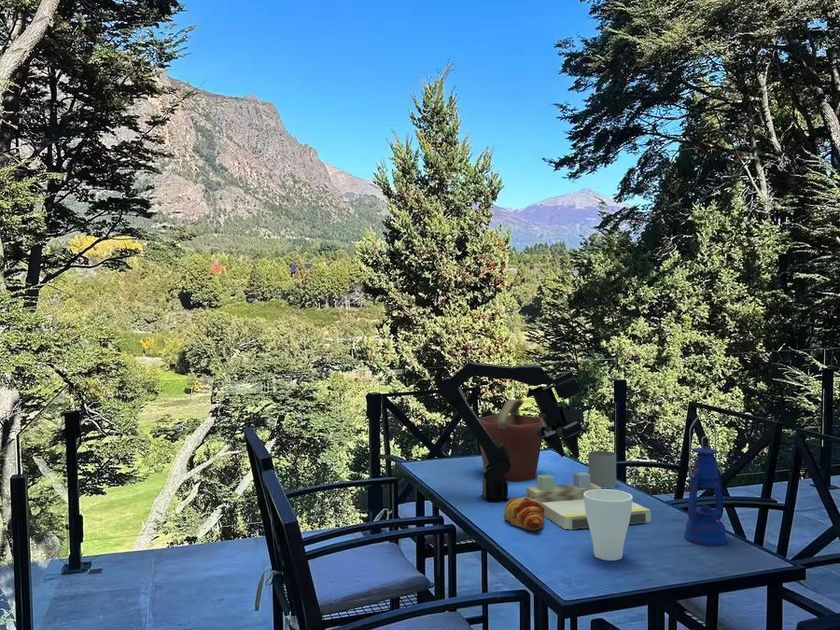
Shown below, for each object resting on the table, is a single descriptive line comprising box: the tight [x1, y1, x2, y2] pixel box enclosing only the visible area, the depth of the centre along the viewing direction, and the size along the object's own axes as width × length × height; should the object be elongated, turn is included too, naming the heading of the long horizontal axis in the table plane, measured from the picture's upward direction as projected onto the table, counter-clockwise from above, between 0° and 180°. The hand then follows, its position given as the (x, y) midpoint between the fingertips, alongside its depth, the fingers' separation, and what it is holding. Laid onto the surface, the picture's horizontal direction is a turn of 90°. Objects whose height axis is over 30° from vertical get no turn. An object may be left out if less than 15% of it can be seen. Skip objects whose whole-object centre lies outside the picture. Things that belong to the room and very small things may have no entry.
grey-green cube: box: [536, 473, 555, 491], centre depth 189 cm, size 4×4×4 cm
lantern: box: [683, 411, 729, 547], centre depth 160 cm, size 11×9×30 cm
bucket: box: [478, 399, 544, 483], centre depth 224 cm, size 24×22×25 cm
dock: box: [541, 499, 652, 530], centre depth 177 cm, size 24×15×3 cm, turn 104°
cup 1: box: [588, 450, 617, 488], centre depth 211 cm, size 8×8×10 cm
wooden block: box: [525, 483, 601, 504], centre depth 190 cm, size 20×6×5 cm, turn 104°
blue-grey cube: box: [572, 471, 590, 488], centre depth 192 cm, size 4×4×4 cm
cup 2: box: [584, 488, 634, 562], centre depth 149 cm, size 10×10×14 cm
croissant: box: [503, 497, 545, 531], centre depth 175 cm, size 21×10×8 cm, turn 10°
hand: (570, 457), depth 193 cm, fingers open, 9 cm apart
